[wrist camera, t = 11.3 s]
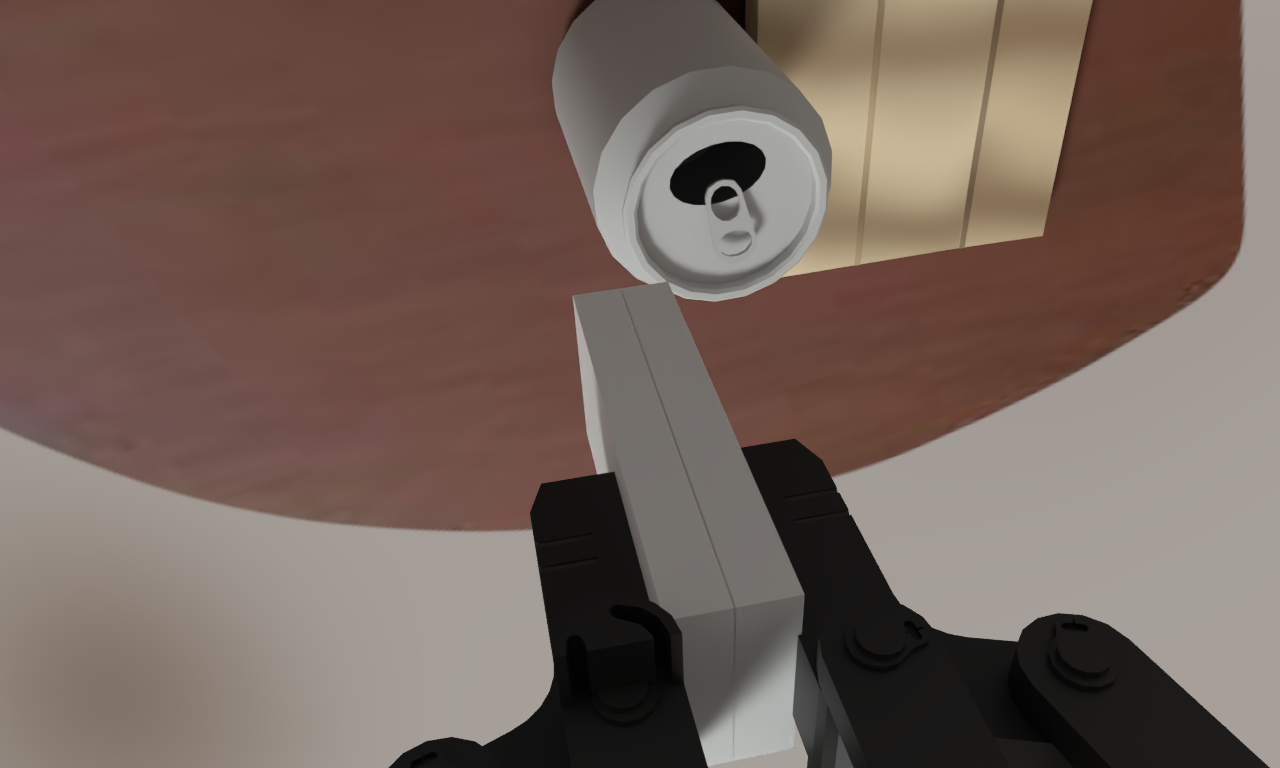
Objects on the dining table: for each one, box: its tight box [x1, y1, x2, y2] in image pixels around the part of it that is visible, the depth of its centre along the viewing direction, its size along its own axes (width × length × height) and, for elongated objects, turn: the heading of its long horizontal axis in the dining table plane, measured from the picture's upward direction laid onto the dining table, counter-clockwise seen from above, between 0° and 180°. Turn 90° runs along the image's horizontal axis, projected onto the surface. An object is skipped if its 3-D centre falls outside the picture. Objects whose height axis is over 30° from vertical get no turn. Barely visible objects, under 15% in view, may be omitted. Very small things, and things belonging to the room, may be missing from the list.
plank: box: [745, 0, 997, 277], centre depth 38 cm, size 20×10×2 cm, turn 3°
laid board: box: [958, 0, 1093, 248], centre depth 39 cm, size 20×4×2 cm, turn 3°
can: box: [552, 0, 832, 301], centre depth 34 cm, size 8×8×12 cm
